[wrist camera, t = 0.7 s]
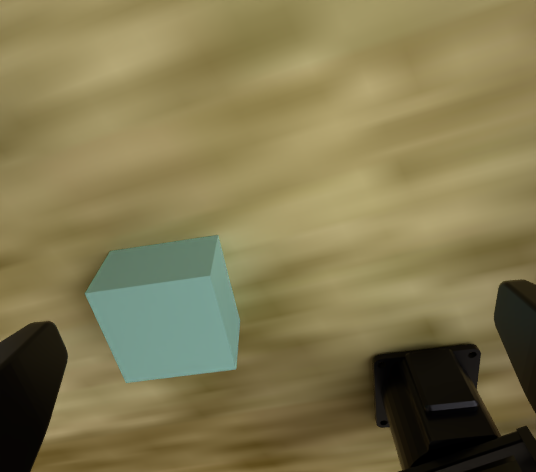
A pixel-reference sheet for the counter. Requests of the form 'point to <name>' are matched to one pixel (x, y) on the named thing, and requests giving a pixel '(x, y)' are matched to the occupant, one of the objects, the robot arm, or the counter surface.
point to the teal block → (167, 309)
